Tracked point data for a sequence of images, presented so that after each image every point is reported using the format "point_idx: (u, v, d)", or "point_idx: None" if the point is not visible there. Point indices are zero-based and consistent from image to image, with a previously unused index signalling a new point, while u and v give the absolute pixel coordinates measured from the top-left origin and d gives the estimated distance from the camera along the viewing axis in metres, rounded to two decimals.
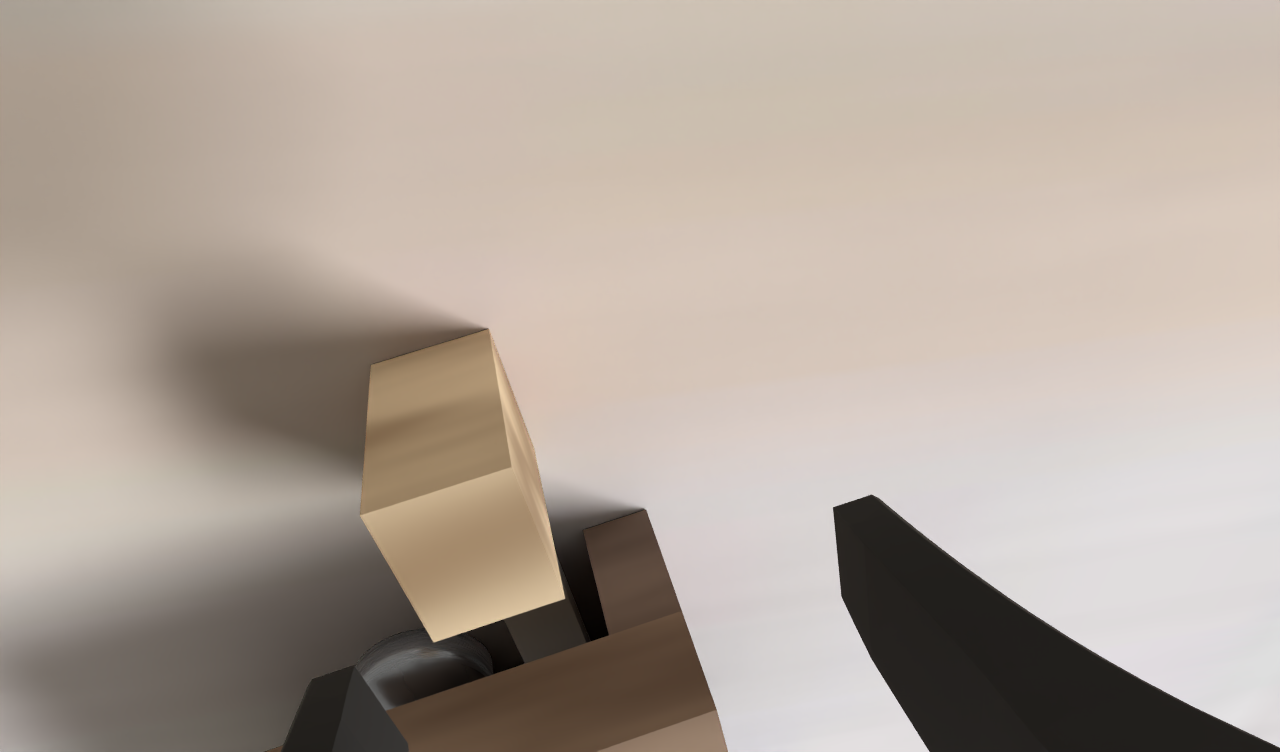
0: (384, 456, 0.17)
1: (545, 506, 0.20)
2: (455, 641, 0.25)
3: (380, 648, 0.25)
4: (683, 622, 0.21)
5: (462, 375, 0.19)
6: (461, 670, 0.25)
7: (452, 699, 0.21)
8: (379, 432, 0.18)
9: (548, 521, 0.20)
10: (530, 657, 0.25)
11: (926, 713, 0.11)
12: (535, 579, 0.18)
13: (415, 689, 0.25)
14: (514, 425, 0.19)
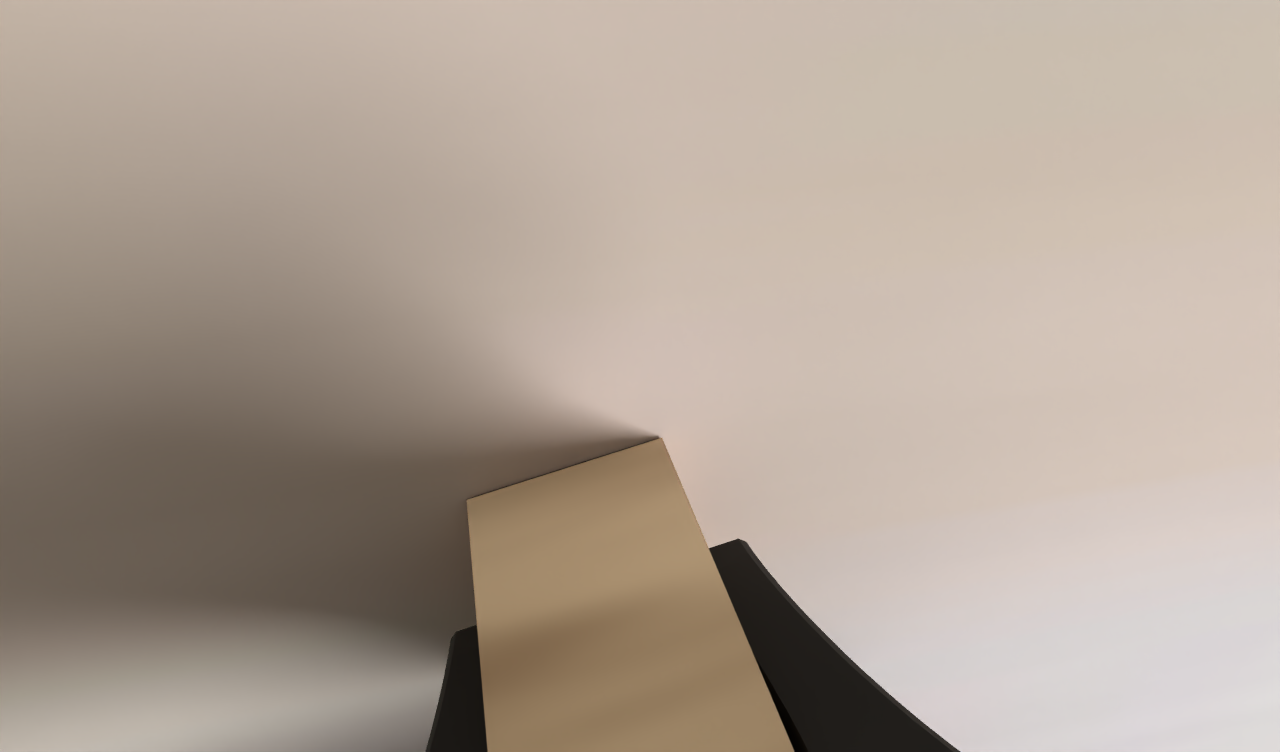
0: (526, 723, 0.09)
1: None
2: None
3: None
4: None
5: (639, 534, 0.11)
6: None
7: None
8: (505, 658, 0.10)
9: None
10: None
11: None
12: None
13: None
14: None
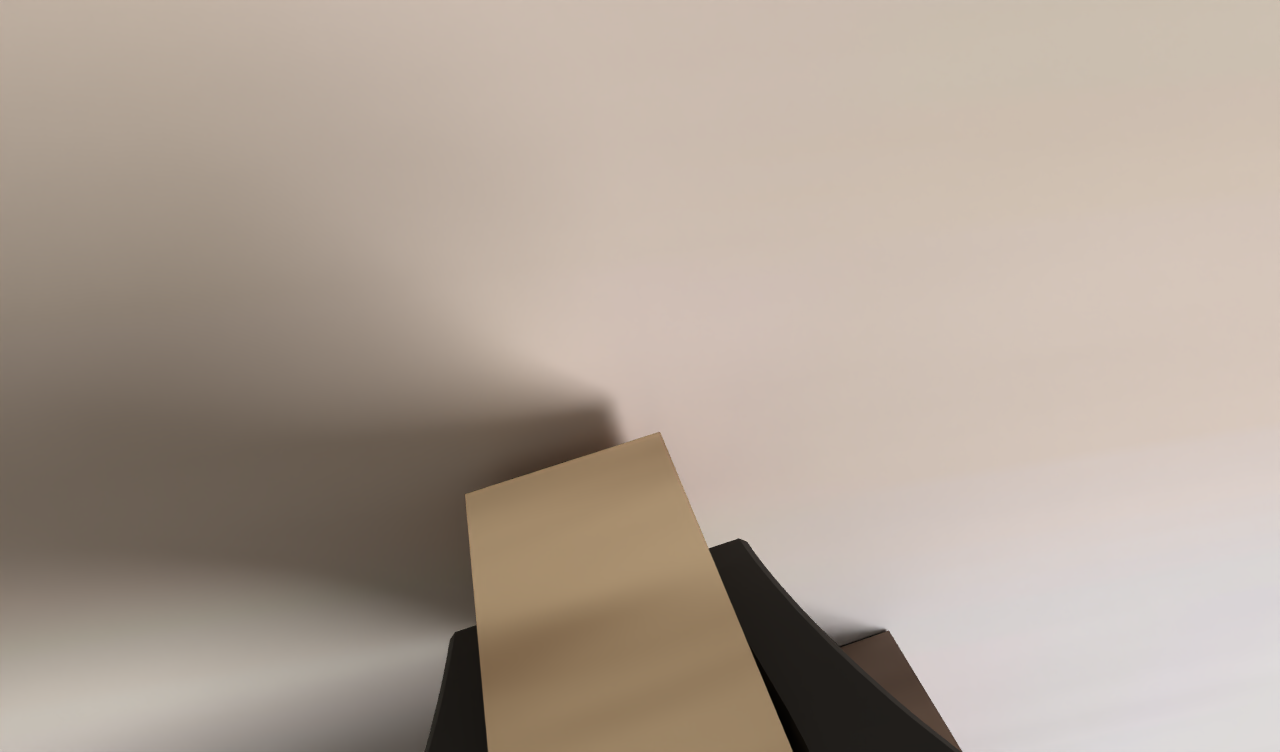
0: (525, 720, 0.09)
1: None
2: None
3: None
4: None
5: (637, 531, 0.11)
6: None
7: None
8: (505, 654, 0.10)
9: None
10: None
11: None
12: None
13: None
14: None
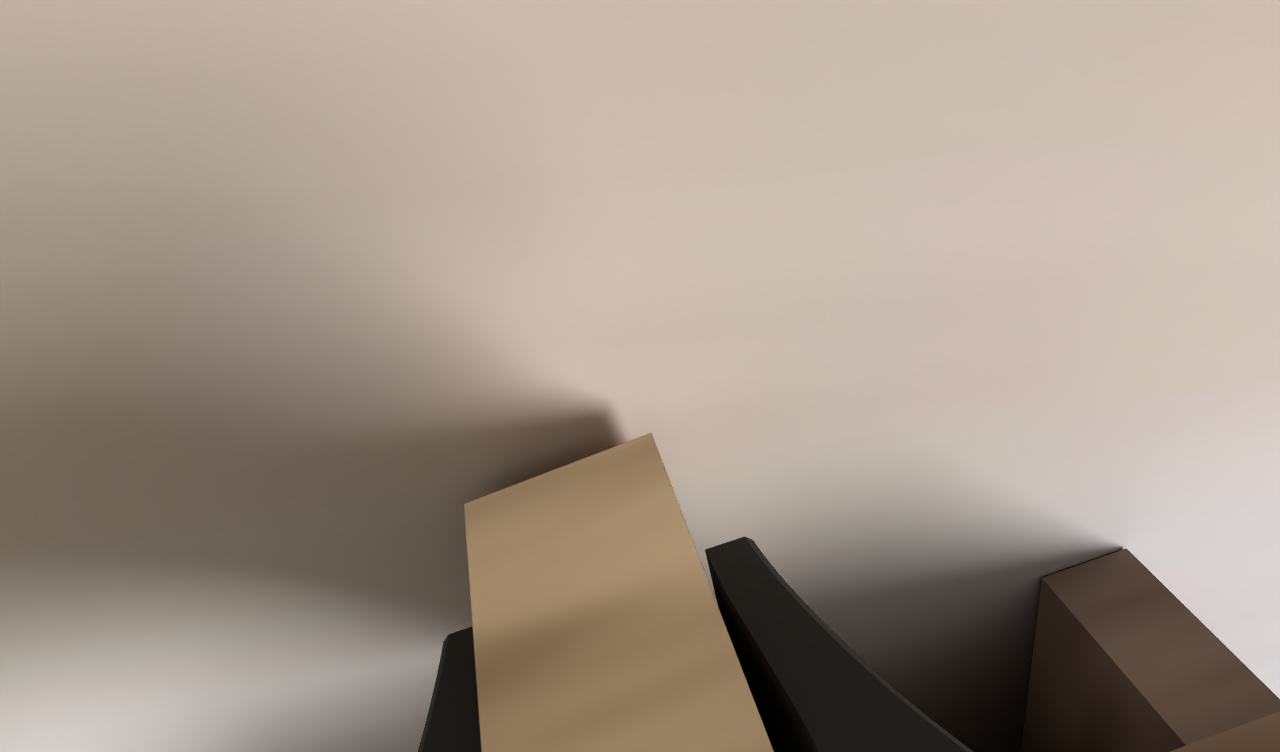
0: (518, 725, 0.09)
1: None
2: None
3: None
4: None
5: (627, 533, 0.11)
6: None
7: None
8: (499, 661, 0.10)
9: None
10: None
11: None
12: None
13: None
14: None
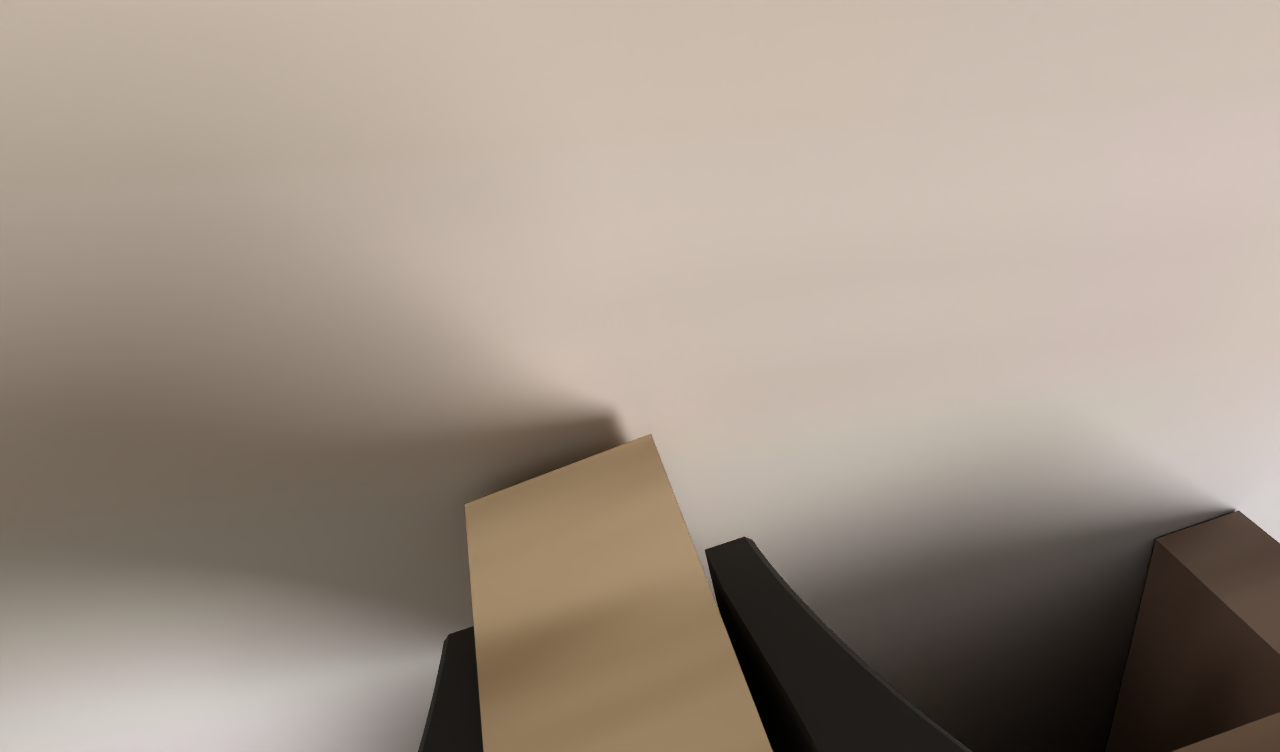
0: (519, 725, 0.09)
1: None
2: None
3: None
4: None
5: (628, 534, 0.11)
6: None
7: None
8: (501, 661, 0.10)
9: None
10: None
11: None
12: None
13: None
14: None
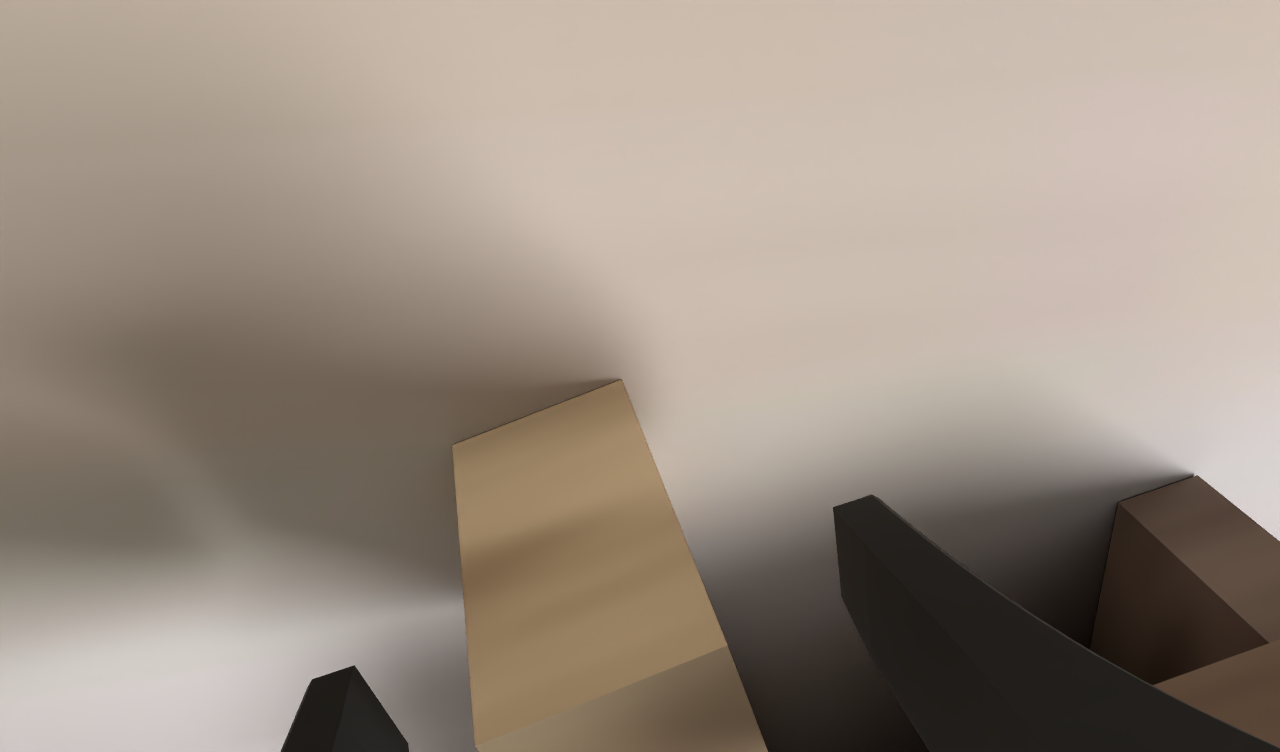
0: (498, 617, 0.10)
1: None
2: None
3: None
4: None
5: (598, 461, 0.12)
6: None
7: None
8: (483, 569, 0.11)
9: None
10: None
11: (926, 713, 0.11)
12: None
13: None
14: None
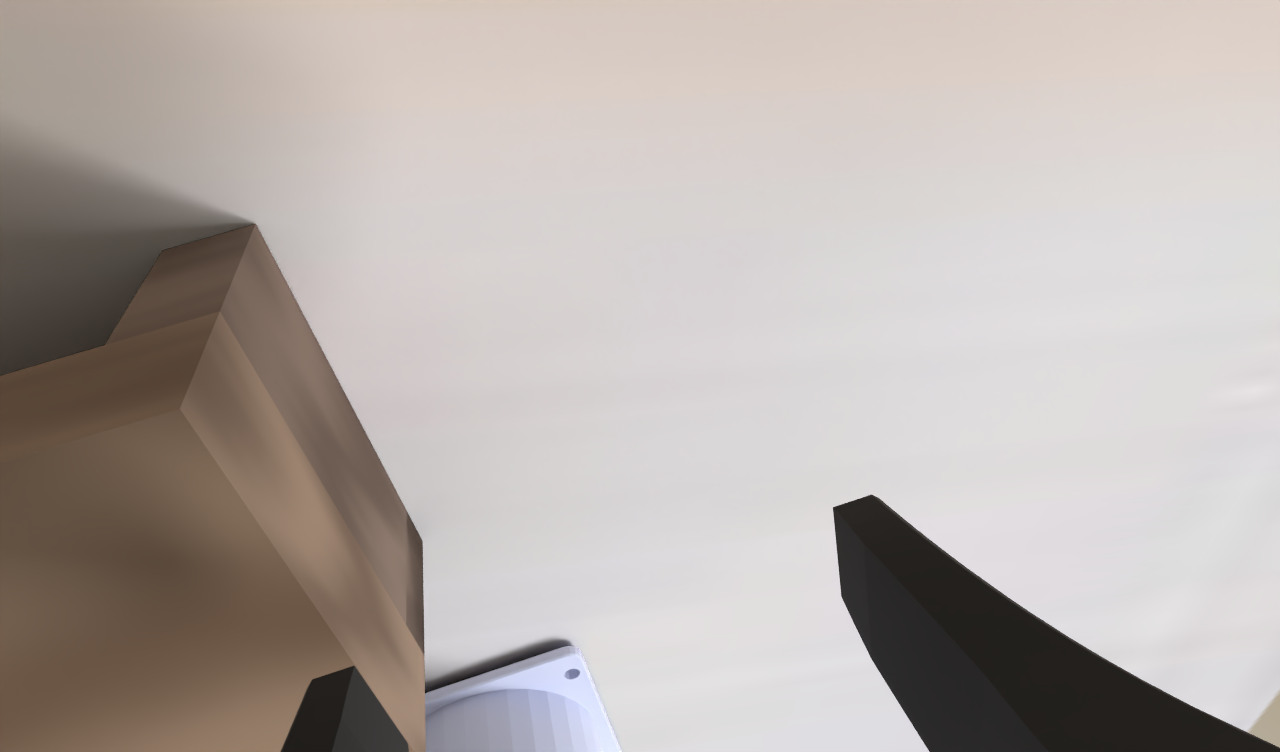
0: None
1: None
2: None
3: None
4: (212, 322, 0.14)
5: None
6: None
7: None
8: None
9: None
10: None
11: (926, 713, 0.11)
12: None
13: None
14: None
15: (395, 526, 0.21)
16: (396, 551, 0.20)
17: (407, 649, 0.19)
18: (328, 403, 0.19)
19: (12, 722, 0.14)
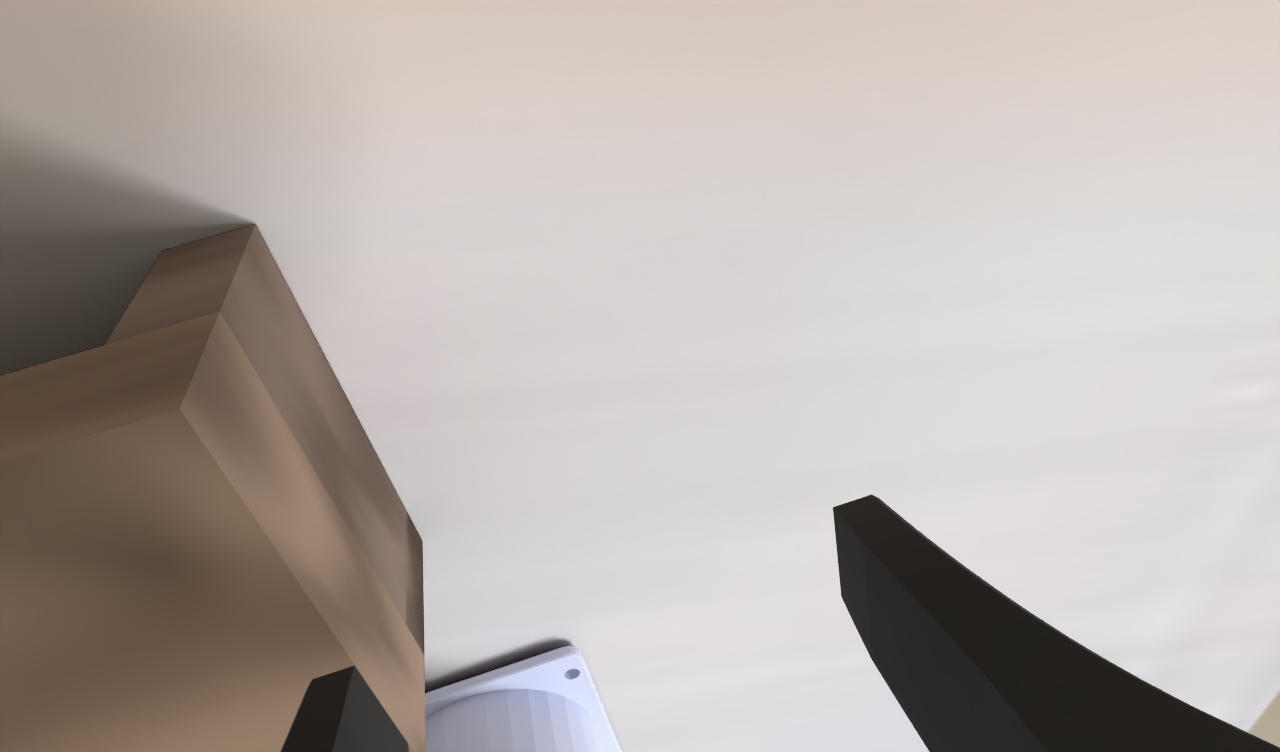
0: None
1: None
2: None
3: None
4: (212, 322, 0.14)
5: None
6: None
7: None
8: None
9: None
10: None
11: (926, 713, 0.11)
12: None
13: None
14: None
15: (395, 526, 0.21)
16: (396, 551, 0.20)
17: (407, 649, 0.19)
18: (328, 403, 0.19)
19: (12, 722, 0.14)
